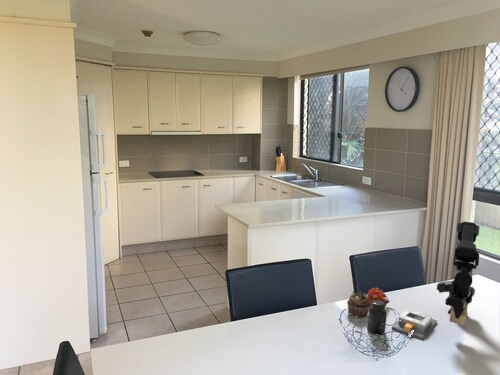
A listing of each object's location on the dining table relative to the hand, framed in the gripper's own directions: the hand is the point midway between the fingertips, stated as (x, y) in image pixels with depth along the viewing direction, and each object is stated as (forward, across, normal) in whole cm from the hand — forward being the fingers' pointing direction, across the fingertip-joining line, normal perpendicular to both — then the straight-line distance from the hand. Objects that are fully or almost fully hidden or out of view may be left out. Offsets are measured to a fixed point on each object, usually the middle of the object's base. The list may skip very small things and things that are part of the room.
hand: (458, 316), depth 164 cm
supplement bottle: (+9, +17, -25) cm, 31 cm away
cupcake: (+9, +8, -37) cm, 39 cm away
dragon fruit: (+9, -5, -34) cm, 35 cm away
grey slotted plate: (+8, +2, -15) cm, 17 cm away
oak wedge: (+2, 0, 0) cm, 2 cm away
